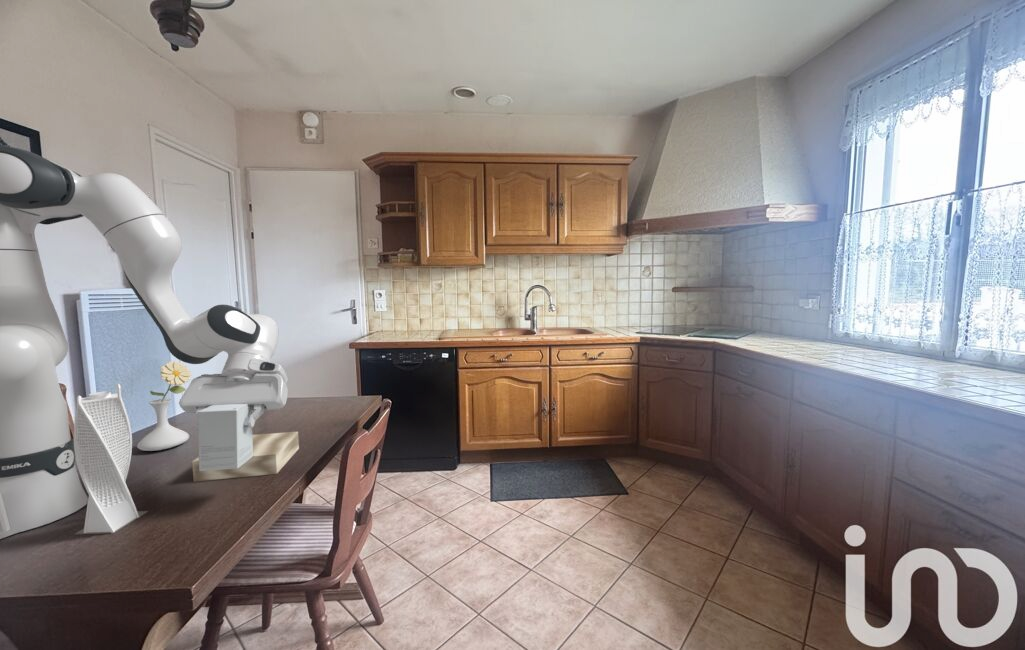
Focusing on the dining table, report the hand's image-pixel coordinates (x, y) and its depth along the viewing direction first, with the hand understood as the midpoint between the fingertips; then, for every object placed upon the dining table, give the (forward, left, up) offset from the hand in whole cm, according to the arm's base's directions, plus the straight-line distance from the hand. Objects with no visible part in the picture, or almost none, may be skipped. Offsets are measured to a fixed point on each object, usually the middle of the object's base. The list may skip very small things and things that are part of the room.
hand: (225, 427), depth 81 cm
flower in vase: (-34, +38, -16) cm, 53 cm away
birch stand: (-4, +19, -16) cm, 25 cm away
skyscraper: (-18, -5, -17) cm, 25 cm away
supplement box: (0, 0, -8) cm, 8 cm away
